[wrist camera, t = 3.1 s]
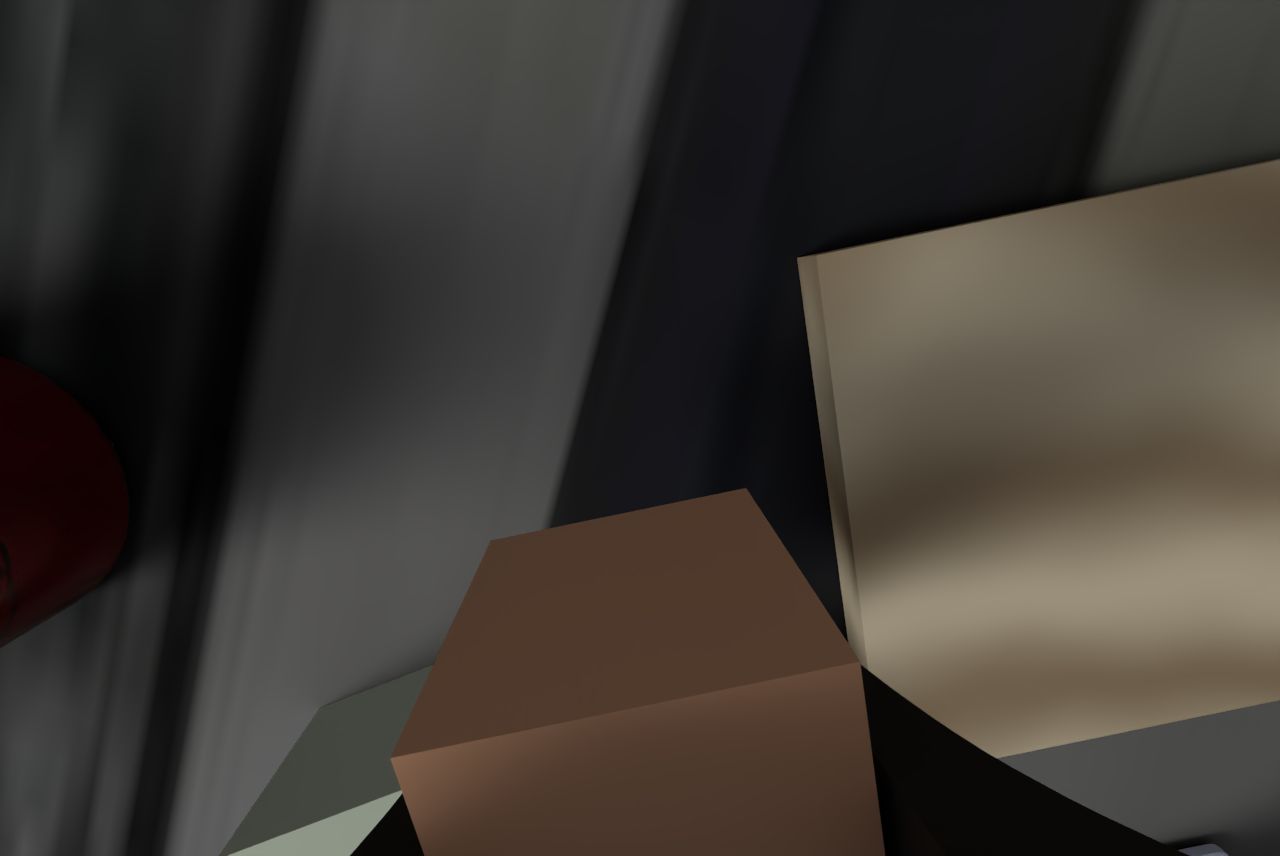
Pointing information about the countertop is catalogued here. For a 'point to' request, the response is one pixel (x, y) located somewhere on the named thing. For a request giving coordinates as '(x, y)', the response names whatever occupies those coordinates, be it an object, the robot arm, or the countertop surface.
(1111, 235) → the birch board
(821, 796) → the terracotta block
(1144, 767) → the countertop surface
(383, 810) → the sage block
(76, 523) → the soda can
